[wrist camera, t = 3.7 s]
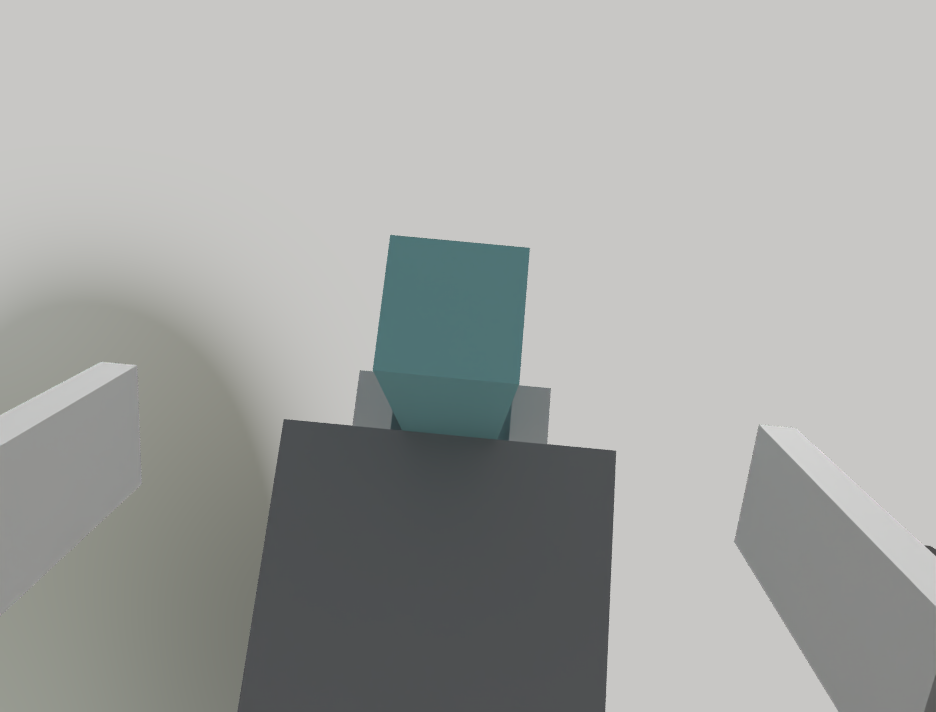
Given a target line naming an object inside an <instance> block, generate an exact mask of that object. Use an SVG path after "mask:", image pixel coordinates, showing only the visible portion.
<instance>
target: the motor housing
mask: <svg viewBox="0 0 936 712" xmlns="http://www.w3.org/2000/svg"><path fill="white" fill-rule="evenodd" d="M550 391H551V388H541V387H530V386H520V385H519V386H518V388H517V391H516V393H515V396H514V398H513V401H512V403H511V406H510V408H509V411H508V414H507V416H506V419H505V421H504V424H503V426H502V429H501V431H500V434H499V436H498V439H486V438H476V437H465V436H455V435H444V434H434V433H423V432H413V431H402V429H401V427H400V425H399V423H398V421H397V419H396V417H395V415H394V413H393V411H392V409H391V407H390V405H389V402H388V400H387V398H386V396H385V394H384V392H383V390H382V388H381V386H380V384H379V382H378V380H377V378H376V376H375V374H374V372H372V371H361V370H360V373H359V381H358V389H357V396H356V403H355V411H354V418H353V426H349V425H339V424H328V423H318V422H308V421H297V420H286V419H284V422H283V428H282V434H281V441H280V447H279V454H278V459H277V466H276V473H275V478H274V485H273V492H272V498H271V504H270V510H269V516H268V523H267V529H266V536H265V542H264V548H263V554H262V561H261V567H260V574H259V579H258V586H257V592H256V598H255V605H254V611H253V617H252V624H251V630H250V636H249V642H248V649H247V655H246V661H245V668H244V674H243V681H242V687H241V693H240V699H239V706H238V712H605V702H606V700H605V699H606V678H607V654H608V631H609V630H608V629H609V607H610V606H609V605H610V583H611V582H610V581H611V559H612V536H613V535H612V534H613V512H614V488H615V487H614V486H615V463H616V451H612V450H601V449H591V448H581V447H570V446H560V445H549V444H547V437H548V421H549V406H550Z"/></svg>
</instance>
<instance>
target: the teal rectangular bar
mask: <svg viewBox="0 0 936 712" xmlns="http://www.w3.org/2000/svg"><path fill="white" fill-rule="evenodd" d="M529 250H530V248H524V247H514V246H503V245H492V244H481V243H470V242H460V241H449V240H438V239H427V238H417V237H405V236H395V235H390V243H389V250H388V257H387V265H386V273H385V281H384V288H383V296H382V304H381V312H380V319H379V327H378V335H377V342H376V351H375V358H374V365H373V372H374V374H375V376H376V378H377V380H378V382H379V384H380V386H381V388H382V390H383V392H384V394H385V396H386V398H387V400H388V402H389V405H390V407H391V409H392V411H393V413H394V415H395V417H396V419H397V421H398V423H399V425H400V427H401V429H402V431H413V432H423V433H434V434H444V435H455V436H465V437H476V438H486V439H498V436H499V434H500V431H501V429H502V426H503V424H504V421H505V419H506V416H507V414H508V411H509V408H510V406H511V403H512V401H513V398H514V396H515V393H516V391H517V388H518V386H519V379H520V366H521V353H522V340H523V328H524V315H525V302H526V301H525V300H526V289H527V275H528V263H529Z"/></svg>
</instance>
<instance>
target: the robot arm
mask: <svg viewBox="0 0 936 712" xmlns="http://www.w3.org/2000/svg"><path fill="white" fill-rule="evenodd" d="M141 484H142V479H141V453H140V428H139V402H138V376H137V365H129V364H119V363H108V362H100V363H98V364H96V365H94V366H92V367H91V368H89V369H87V370H85V371H83V372H81V373H79V374H77V375H75V376H74V377H72V378H70V379H68V380H66V381H64V382H62V383H61V384H58V385H56V386H54V387H53V388H51V389H49V390H47V391H45V392H43V393H41V394H39V395H37V396H35V397H34V398H32V399H30V400H28V401H26V402H24V403H22V404H20V405H18V406H17V407H15V408H13V409H11V410H9V411H7V412H5V413H3V414H1V415H0V616H1V615H2V614H3V613H4V612H5V611H6V610H7V609H8V608H9V607H10V606H11V605H13V604H14V603H15V602H16V601H17V600H18V599H19V598H20V597H21V596H22V595H23V594H24V593H26V591H28V590H29V589H30V588H31V587H32V586H33V585H34V584H35V583H36V582H37V581H38V580H39V579H40V578H42V577H43V576H44V575H45V574H46V573H47V572H48V571H49V570H50V569H51V568H52V567H53V566H54V565H55V564H56V563H58V562H59V561H60V560H61V559H62V558H63V557H64V556H65V555H66V554H67V553H68V552H69V551H71V550H72V549H73V548H74V547H75V546H76V545H77V544H78V543H79V542H80V541H81V540H82V539H83V538H84V537H85V536H87V535H88V534H89V532H91V531H92V530H93V529H94V528H95V527H96V526H97V525H98V524H99V523H100V522H101V521H103V520H104V519H105V518H106V517H107V516H108V515H109V514H110V513H111V512H112V511H113V510H115V509H116V508H117V507H118V506H119V505H120V504H121V503H122V502H123V501H124V500H125V499H126V498H127V497H128V496H130V495H131V494H132V493H133V492H134V491H135V490H136V489H137V488H138V487H139V486H140V485H141ZM734 542H735V544H736V545H737V547H738V549H739V550H740V552H741V553H742V555H743V557H744V558H745V560H746V562H747V563H748V565H749V566H750V568H751V570H752V571H753V573H754V575H755V576H756V578H757V579H758V581H759V583H760V584H761V586H762V588H763V589H764V591H765V592H766V594H767V596H768V597H769V599H770V601H771V602H772V604H773V606H774V607H775V609H776V610H777V612H778V614H779V615H780V617H781V619H782V620H783V622H784V624H785V625H786V627H787V628H788V630H789V632H790V633H791V635H792V637H793V638H794V640H795V641H796V643H797V645H798V646H799V648H800V650H801V651H802V653H803V654H804V656H805V658H806V659H807V661H808V663H809V664H810V666H811V667H812V669H813V671H814V672H815V674H816V676H817V677H818V679H819V680H820V682H821V684H822V685H823V687H824V689H825V690H826V692H827V694H828V695H829V697H830V698H831V700H832V702H833V703H834V705H835V707H836V708H837V710H838V711H839V712H936V549H934V548H933V547H931V546H924V545H923V544H922V543H921V542H920V541H919V540H918V539H916V538H915V537H914V536H913V535H912V534H911V533H910V532H909V531H908V530H907V529H906V528H904V527H903V526H902V525H901V524H900V523H899V522H898V521H897V520H896V519H895V518H894V517H892V516H891V515H890V514H889V513H888V512H887V511H886V510H885V509H884V508H883V507H882V506H880V505H879V504H878V503H877V502H876V501H875V500H874V499H872V497H871V496H870V495H868V494H867V493H866V492H865V491H864V490H863V489H862V488H861V487H860V486H859V485H857V484H856V483H855V482H854V481H853V480H852V479H851V478H850V477H849V476H848V475H847V474H845V473H844V472H843V471H842V470H841V469H840V468H839V467H838V466H837V465H836V464H835V463H833V462H832V461H831V460H830V459H829V458H828V457H827V456H826V455H825V454H823V453H822V452H821V451H820V450H819V449H818V448H817V447H816V446H815V445H814V444H813V443H812V442H810V441H809V440H808V439H807V438H806V437H805V436H804V435H803V434H802V433H801V432H800V431H798V430H797V429H796V428H791V427H780V426H770V425H759V427H758V432H757V436H756V441H755V446H754V451H753V455H752V460H751V465H750V470H749V474H748V480H747V484H746V489H745V493H744V498H743V503H742V508H741V513H740V517H739V522H738V527H737V532H736V536H735V541H734Z"/></svg>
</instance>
